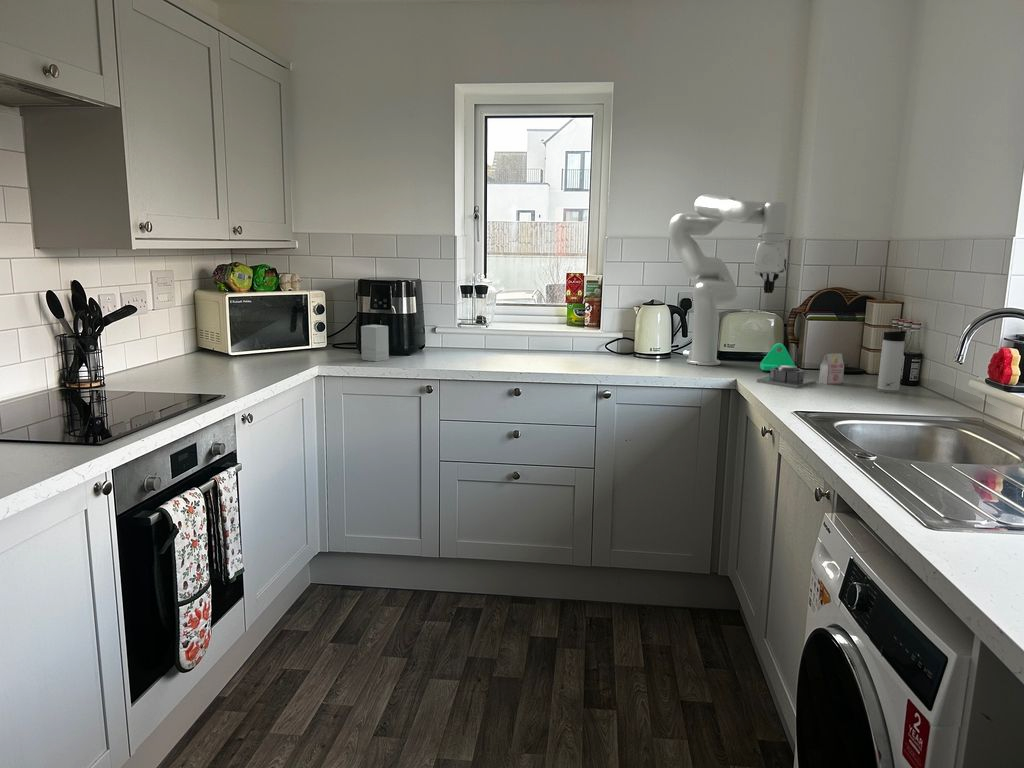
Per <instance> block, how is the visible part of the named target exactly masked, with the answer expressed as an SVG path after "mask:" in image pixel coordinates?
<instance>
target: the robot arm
mask: <svg viewBox="0 0 1024 768" xmlns="http://www.w3.org/2000/svg"><path fill="white" fill-rule="evenodd" d="M693 206H694V210H695V212H680V213H678V214H674V216H673V217H672V218H671V219H670V221H669V225H668V236H669V240H670V242H671V245H672V246H673V247H674V249H675V251H676V252H677V254H678V256H679V259H680V261H681V264H682V266H683V268H684V270H685V273H686V275H687V276H688V278H689V280H690V281H692V282H697V283H696V284H695V285H694V287H693V289H692V300H693V301H692V302H693V324H692V325H693V326H692V337H691V338H692V340H691V349H689V350H687V349H686V350H683V353H682V355H683V356H687V357H688V358H687V359H686V363H688V364H690V365H691V364H692V365H696V364H697V365H698V366H718V365H721V360H719V359H717V356H718V344H719V341H718V340H719V330H720V314H719V311H718V309H717V306H729V305H732V304H733V303H735V301H736V300H737V295H738V291H737V286H736V283H735V282H734V280H733V277H732V276H731V272H730V271H729V269H728V267H727V264H726V263H725V261H723V260H722V259H721V258H718V257H716V256H706V255H705V254H704V253H703V251H702V248H701V247H700V245H699V243H698V241H696V240H695V239H694V238H693V237H692V236H699V237H700V236H707V235H709V234H711V233H712V232H713V231H714V230H716V228H718V226H720V225H721V224H722V223H723V222H724V221H725V222H733V223H739V224H755V225H762V229H761V230H762V231H761V234H758V239H759V240H760V242H759V243H758V244H757V247H756V252H755V258H754V263H753V264H754V265H753V270H754V275H756V276H759V277H761V279H762V281H763V282H764V283H763V290H764V292H763V293H764V294H772V293H774V290H775V282H776V281H777V280H778V279H779V278H781V277H785V276H786V271H787V267H788V248H787V243H785V239H786V228H787V217H788V216H787V215H788V203H786V202H785V201H768V202H766V201H754V200H742V199H741V200H739V199H737V198H735V197H733V196H728V195H724V194H716V193H715V194H713V193H706V194H702V195H700V196H698V197H697V199H696V200H695V201H694V204H693Z"/></svg>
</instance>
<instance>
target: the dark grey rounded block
mask: <svg viewBox="0 0 1024 768" xmlns="http://www.w3.org/2000/svg"><path fill="white" fill-rule="evenodd" d="M797 368H798V367H797V366H796V367H793V366H786V365H783V366H778V370H781V371H797Z"/></svg>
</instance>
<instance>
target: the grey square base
mask: <svg viewBox="0 0 1024 768" xmlns="http://www.w3.org/2000/svg"><path fill="white" fill-rule="evenodd" d="M769 373H770V374H769V376H765V377H760V378H756V382H757V383H760V382H762V384H767V383H768V384H767V385H773V384H774V386H779V385H780V386H781V387H787V388H792V387H793V389H800V388H802V387H803V386H804V387H806V386H810V385H814V384H816V382H817V381H816V380H815V379H808V378H805V377H804V376H805V370H804V369H801V368H798V367H797V371H781V370H778V367H773V368H771V370H770V372H769Z"/></svg>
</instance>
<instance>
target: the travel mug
mask: <svg viewBox="0 0 1024 768" xmlns="http://www.w3.org/2000/svg"><path fill="white" fill-rule="evenodd" d="M906 334H907V330H900V331H898V330H897V331H884V332H883V338H882V345H881V351H880V352H881V353H880V362H879V369H878V370H879V373H878V379H877V381H878V382H877V387H876V388H877V389H876V390H877V392H878V391H879V393H881V392H883V393H882V394H888V393H897V394H898V393H899V392H900V385H901V384H900V383H901V376H902V369H903V368H902V366H903V360H904V352H905V351H904V350H905V342H906V340H905V339H906Z"/></svg>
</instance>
